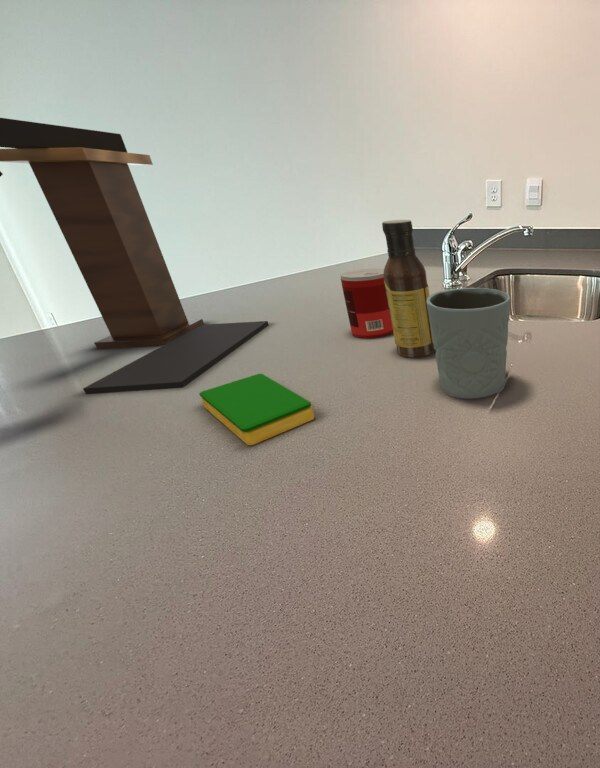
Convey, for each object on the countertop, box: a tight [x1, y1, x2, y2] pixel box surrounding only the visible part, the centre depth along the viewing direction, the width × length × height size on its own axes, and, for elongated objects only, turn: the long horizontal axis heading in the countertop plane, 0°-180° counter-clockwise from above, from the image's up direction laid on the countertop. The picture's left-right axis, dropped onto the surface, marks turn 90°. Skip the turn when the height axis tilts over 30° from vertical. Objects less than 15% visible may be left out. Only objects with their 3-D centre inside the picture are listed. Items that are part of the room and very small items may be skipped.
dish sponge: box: [199, 373, 315, 446], centre depth 48 cm, size 7×14×2 cm, turn 51°
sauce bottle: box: [381, 219, 436, 358], centre depth 61 cm, size 6×6×20 cm
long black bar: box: [0, 117, 129, 153], centre depth 57 cm, size 24×4×3 cm, turn 0°
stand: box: [0, 148, 205, 350], centre depth 69 cm, size 14×12×30 cm
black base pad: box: [82, 320, 270, 395], centre depth 67 cm, size 28×12×1 cm, turn 7°
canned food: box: [340, 268, 394, 339], centre depth 72 cm, size 8×8×11 cm
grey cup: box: [426, 287, 511, 400], centre depth 51 cm, size 10×10×12 cm
